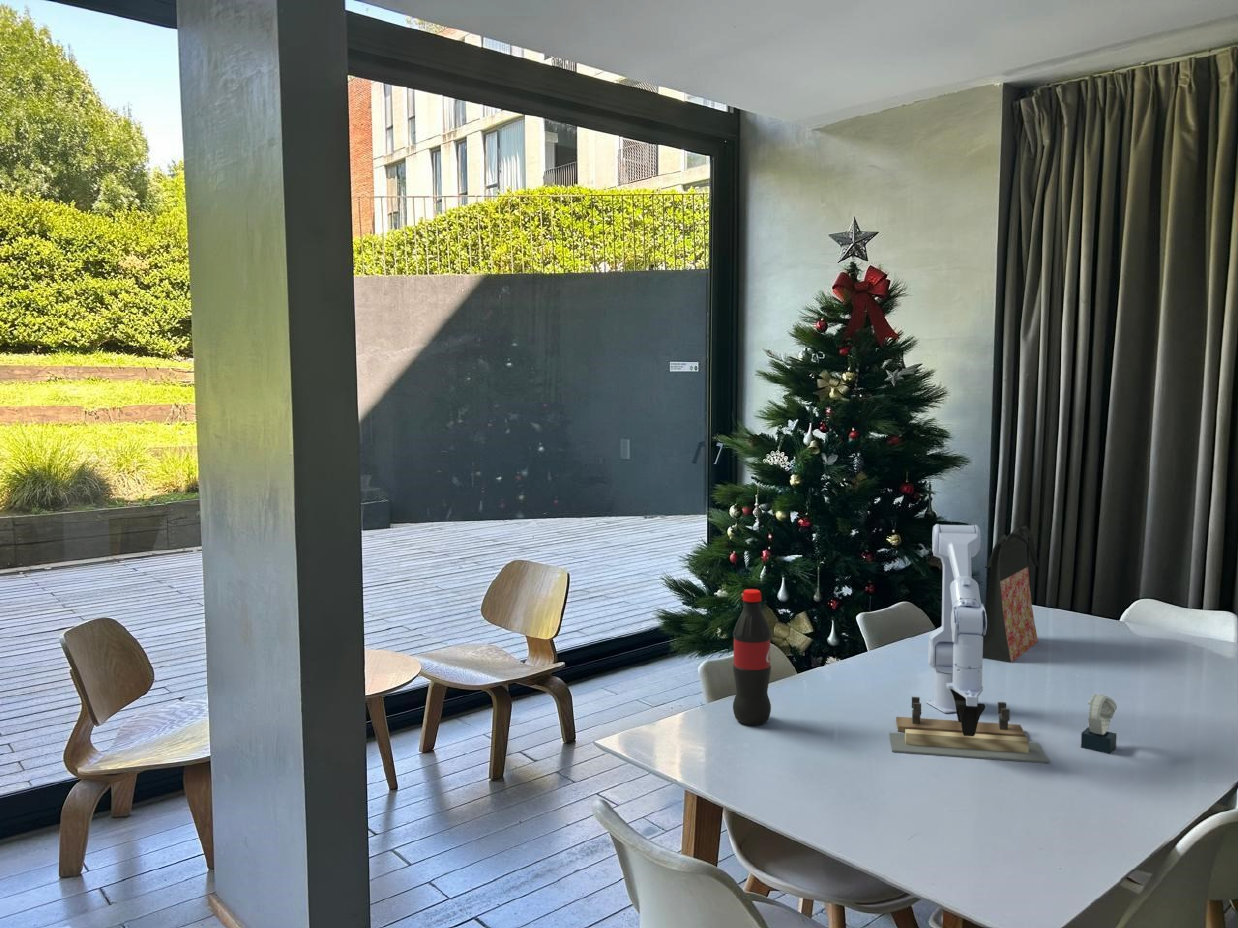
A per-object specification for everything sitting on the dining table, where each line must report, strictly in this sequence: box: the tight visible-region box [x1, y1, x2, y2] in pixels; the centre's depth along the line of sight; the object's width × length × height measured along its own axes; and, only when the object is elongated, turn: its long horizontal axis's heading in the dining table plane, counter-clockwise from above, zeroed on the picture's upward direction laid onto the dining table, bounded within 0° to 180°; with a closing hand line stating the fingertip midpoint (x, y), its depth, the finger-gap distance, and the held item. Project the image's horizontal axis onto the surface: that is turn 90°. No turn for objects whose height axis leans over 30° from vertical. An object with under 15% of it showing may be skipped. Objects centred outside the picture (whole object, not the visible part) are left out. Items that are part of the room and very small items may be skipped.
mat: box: [888, 732, 1050, 764], centre depth 196 cm, size 30×10×1 cm, turn 77°
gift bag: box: [982, 525, 1040, 664], centre depth 267 cm, size 29×14×35 cm, turn 141°
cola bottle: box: [732, 588, 772, 726], centre depth 212 cm, size 8×8×30 cm
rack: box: [895, 696, 1027, 737], centre depth 205 cm, size 26×6×6 cm, turn 77°
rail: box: [904, 729, 1030, 753], centre depth 196 cm, size 24×2×2 cm, turn 77°
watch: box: [1080, 694, 1118, 755], centre depth 195 cm, size 6×8×11 cm
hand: (966, 728), depth 196 cm, fingers open, 7 cm apart
